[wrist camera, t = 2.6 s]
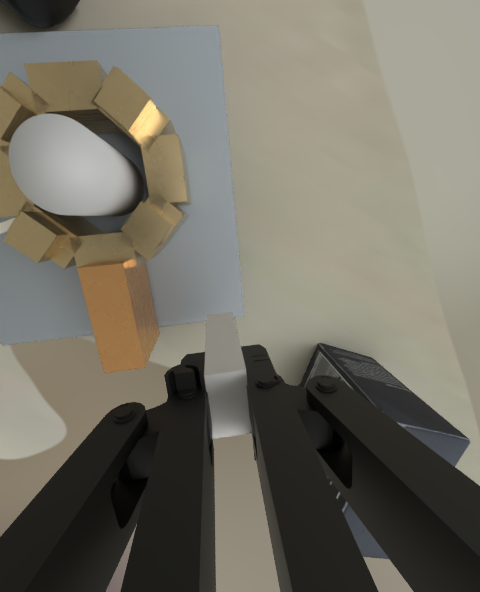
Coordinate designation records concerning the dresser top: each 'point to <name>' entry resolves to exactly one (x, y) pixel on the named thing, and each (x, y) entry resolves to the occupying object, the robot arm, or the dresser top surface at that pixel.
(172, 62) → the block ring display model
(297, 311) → the dresser top surface
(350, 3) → the dresser top surface
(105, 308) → the gold ring with handle
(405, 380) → the dresser top surface
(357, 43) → the dresser top surface
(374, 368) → the small box
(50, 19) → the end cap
